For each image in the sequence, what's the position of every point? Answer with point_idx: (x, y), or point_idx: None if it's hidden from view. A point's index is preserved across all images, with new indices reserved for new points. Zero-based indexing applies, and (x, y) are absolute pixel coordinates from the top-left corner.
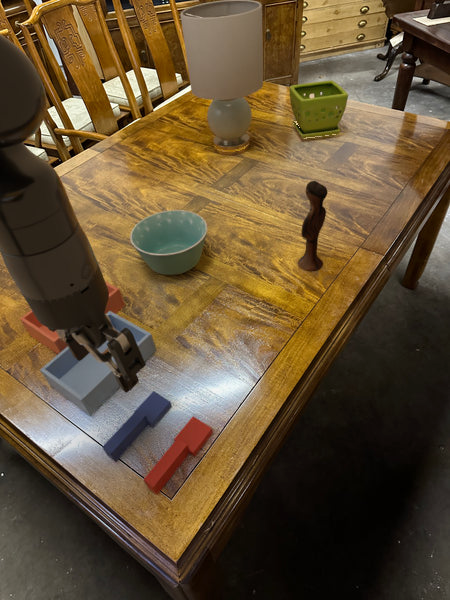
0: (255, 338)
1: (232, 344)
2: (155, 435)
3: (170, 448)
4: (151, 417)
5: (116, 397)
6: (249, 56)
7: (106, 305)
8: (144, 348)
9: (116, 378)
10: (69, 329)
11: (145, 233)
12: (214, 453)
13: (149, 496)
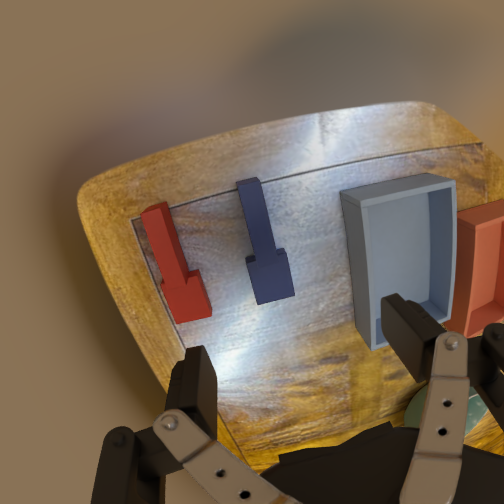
0: (262, 418)
1: (277, 399)
2: (232, 253)
3: (177, 267)
4: (255, 269)
5: (337, 240)
6: None
7: (460, 314)
8: (364, 325)
9: (194, 385)
10: (404, 478)
11: (477, 399)
12: (151, 300)
13: (153, 197)
